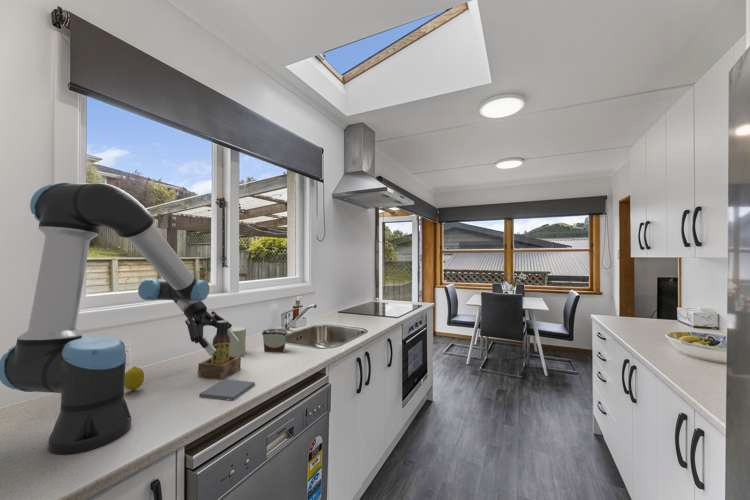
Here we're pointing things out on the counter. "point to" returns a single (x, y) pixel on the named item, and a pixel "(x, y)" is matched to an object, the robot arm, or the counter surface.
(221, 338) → the sauce bottle
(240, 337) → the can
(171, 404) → the counter surface
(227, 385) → the rubber mat
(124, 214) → the robot arm
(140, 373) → the lemon
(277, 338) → the food container
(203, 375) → the walnut sleeve
